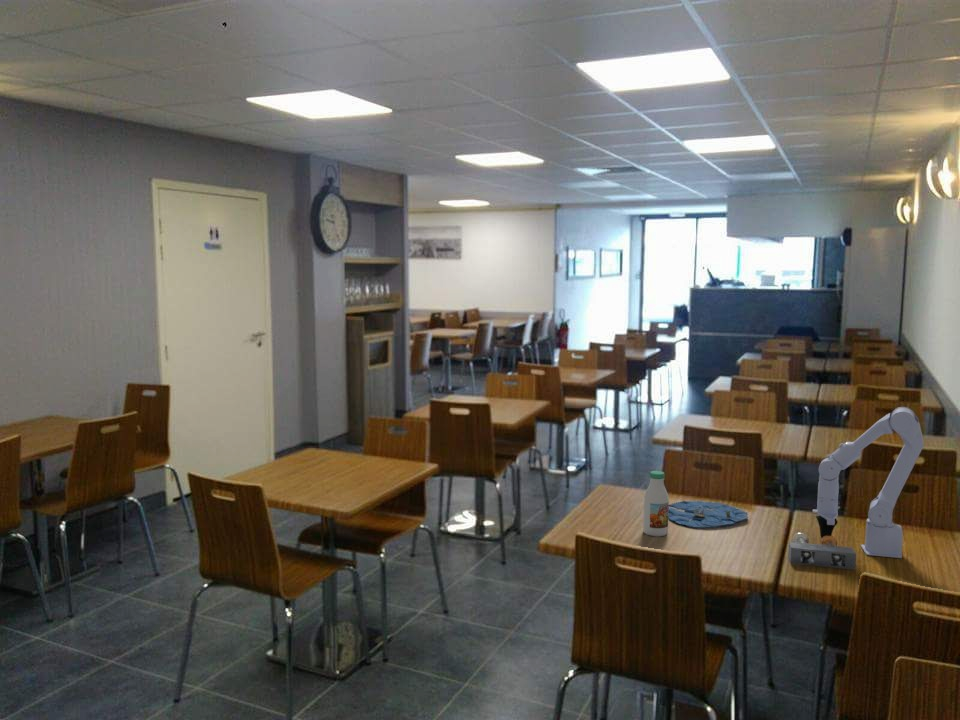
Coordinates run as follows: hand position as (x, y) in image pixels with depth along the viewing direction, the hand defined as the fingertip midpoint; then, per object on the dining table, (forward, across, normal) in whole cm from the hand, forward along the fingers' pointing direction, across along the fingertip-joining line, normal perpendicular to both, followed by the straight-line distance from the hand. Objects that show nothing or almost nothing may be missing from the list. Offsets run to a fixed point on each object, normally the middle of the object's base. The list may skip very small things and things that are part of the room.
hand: (825, 540), depth 230 cm
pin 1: (+1, +12, -8) cm, 15 cm away
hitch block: (+1, +18, -4) cm, 18 cm away
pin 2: (+1, +12, 0) cm, 12 cm away
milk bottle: (+1, +5, -51) cm, 51 cm away
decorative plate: (+2, -17, -36) cm, 40 cm away
